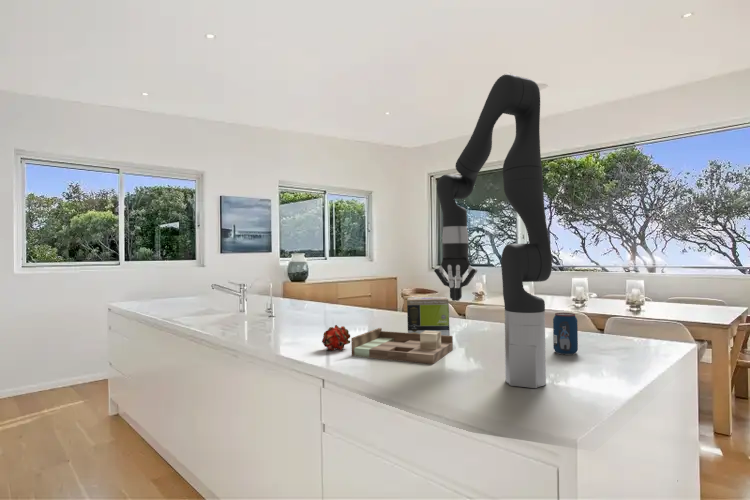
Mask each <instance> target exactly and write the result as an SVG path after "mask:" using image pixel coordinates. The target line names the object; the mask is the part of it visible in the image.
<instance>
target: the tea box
mask: <svg viewBox="0 0 750 500" xmlns="http://www.w3.org/2000/svg"><path fill="white" fill-rule="evenodd" d="M406 299H407V300H406V312H407V313H406V314H407V317H406V318H407V333H417V334H420V333H422V332H424V331H439V332H441V335H446V336H451V335H450V332H451V331H450V307H449V306H450V304H449V303H450V302H449V299H448V297H447V296H430V297H429V296H424V297H423V296H422V297H420V296H419V297H407V298H406Z"/></svg>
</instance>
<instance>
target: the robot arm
mask: <svg viewBox="0 0 750 500" xmlns="http://www.w3.org/2000/svg"><path fill="white" fill-rule="evenodd" d="M540 91H541V90H540V87H539V85H538V84H537V82H536V81H535V80H532V79H531V78H529V77H527V78H526V77H524V76H523V77H522V76H518V75H515V74H511V73H509V74H507V73H506V74H503V75H500V76H499V77H498V78H497V79H496V80H495V82H494V84H493V86H492V87H491V89H490V91H489V92H488V95H487V98H486V100H485V102H484V105H483V107H482V109H481V112H480V114H479V116H478V119H477V121H476V124H475V127H474V129H473V132H472V134H471V136H470V138H469V140H468V142H467V144H466V145H465V147H464V148H463V150H462V151H461V153H460V155H459V156H458V158H457V160H456V162H455V170H456V171H457V172H458V173H459V174H460V175H458V174H457V175H456V174H442V176H440V177H439V178H438V181H437V184H436V191H437V192H436V193H437V197H438V200H439V204H440V208H441V212H442V217H443V218H442V239H441V240H442V261H441V262H440V263H441V264H440V266H439V267H437V268H434V271H433V272H434V273H435V275H436V276H437V278H438V279H439V280H440V282H441V283H442V284H443V286H445V287H448V288H449V298H450V299H451V301H455V302H459V301H460V299H462V298H463V297H462V295H463V292H462V291H463V290H462V289H463V288H464V287H466V286H468V285H469V283H471V281H472V279H474V277H475V276H476V274H477V272H478V269H477V268H475V267H473V266H471V261H469V232H468V214H467V209H466V208H465V207H463V206H461V205H459V204H458V203H457V202H456V200H464V199H467V198H468V197H469V196H470V195H471V194H472V193H473V190H474V188H475V184H476V182H477V178H478V175H479V172H480V171H481V170H482V168H483V167H484V165H485V164H486V162H487V161H488V160H489V157H490V155H491V152H492V149H493V132H494V127H495V125H496V123H497V122H498V120H499V119H500V117H502V115H503V114H504V115H505V114H506V115H509V116H514V120H515V137H514V141H513V143H512V145H511V147H510V149H509V150H508V152H507V155H506V157H505V159H504V161H503V166H502V180H503V192H504V195H505V197H506V198H507V200H508V202H509V203H510V205H511V206H512V207H513V209H514V210H515V212H516V213H517V214H518V217H519V218H520V219H521V220H522V223H523V224H524V226H525V229H526V232H527V236H528V243H509V244H506V245H505V246H504V248H503V250H502V253H501V257H500V258H501V259H500V262H501V263H500V265H501V266H500V268H501V278H502V297H503V302H504V303H503V304H504V358H505V359H504V364H505V366H504V367H505V369H504V370H505V372H504V373H505V382H506V383H507V384H508V385H509V386H512V387H523V388H529V389H530V388H531V389H538V388H539V387H543V386H545V385H547V370H546V369H547V364H546V360H547V359H546V303H545V300H544V299H543V298H542V297H539V296H536V295H533V294H531V293H529V292H528V291H526V290H525V288H524V283H529V282H530V283H535V282H536V283H538V282H540V283H541V282H545V281H547V280H548V279H549V278H550V276H551V273H552V271H553V270H552V268H553V260H552V259H553V258H552V250H551V249H552V248H551V243H550V238H549V233H548V232H549V231H548V225H547V220H546V219H547V218H546V210H545V209H546V208H545V198H544V180H543V167H542V157H541V156H542V155H541V154H542V153H541V138H540V136H541V135H540V134H541V133H540V131H541V130H540V127H541V126H540V125H541V123H540V122H541V92H540ZM444 272H445V273H446V275H448V276H446V275H445V274H444ZM466 272H467V274H468V275H466V277H465V278H464V275H465V274H466ZM447 277H448V278H447ZM463 279H464V280H463Z"/></svg>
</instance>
